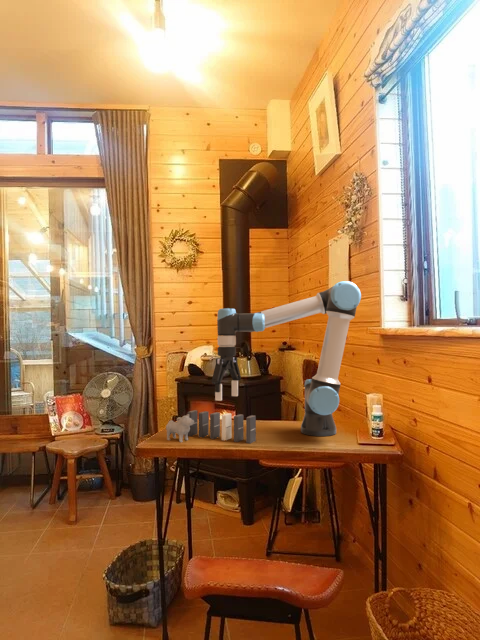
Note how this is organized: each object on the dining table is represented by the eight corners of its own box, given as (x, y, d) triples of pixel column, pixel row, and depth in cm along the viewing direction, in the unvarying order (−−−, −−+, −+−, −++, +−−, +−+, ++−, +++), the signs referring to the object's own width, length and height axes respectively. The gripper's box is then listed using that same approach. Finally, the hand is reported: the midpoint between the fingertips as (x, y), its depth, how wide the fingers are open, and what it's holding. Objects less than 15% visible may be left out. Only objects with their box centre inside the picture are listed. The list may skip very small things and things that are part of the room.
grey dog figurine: (188, 443, 176) (188, 416, 176) (164, 439, 183) (164, 413, 183) (196, 441, 180) (196, 414, 181) (172, 437, 187) (172, 411, 188)
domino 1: (197, 434, 193) (197, 410, 193) (191, 436, 188) (191, 412, 189) (193, 433, 194) (193, 410, 194) (187, 435, 189) (187, 412, 190)
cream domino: (231, 437, 185) (231, 413, 186) (225, 440, 181) (225, 415, 181) (227, 437, 186) (227, 413, 187) (221, 440, 182) (221, 415, 182)
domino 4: (243, 439, 183) (243, 414, 183) (238, 442, 178) (237, 416, 179) (239, 438, 184) (239, 414, 184) (233, 441, 179) (233, 416, 180)
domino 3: (220, 436, 188) (220, 412, 188) (214, 439, 183) (214, 414, 184) (216, 436, 189) (216, 412, 189) (209, 438, 184) (209, 414, 185)
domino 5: (255, 440, 180) (255, 415, 181) (250, 443, 176) (250, 417, 176) (251, 440, 181) (251, 415, 182) (246, 443, 177) (246, 417, 177)
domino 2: (208, 435, 190) (208, 411, 191) (202, 437, 186) (202, 413, 186) (204, 434, 191) (204, 411, 192) (198, 437, 187) (198, 413, 187)
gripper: (233, 345, 197) (233, 393, 197) (202, 347, 175) (202, 401, 175) (248, 345, 194) (248, 394, 193) (219, 347, 172) (219, 403, 171)
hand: (227, 398), depth 184 cm, fingers open, 13 cm apart
